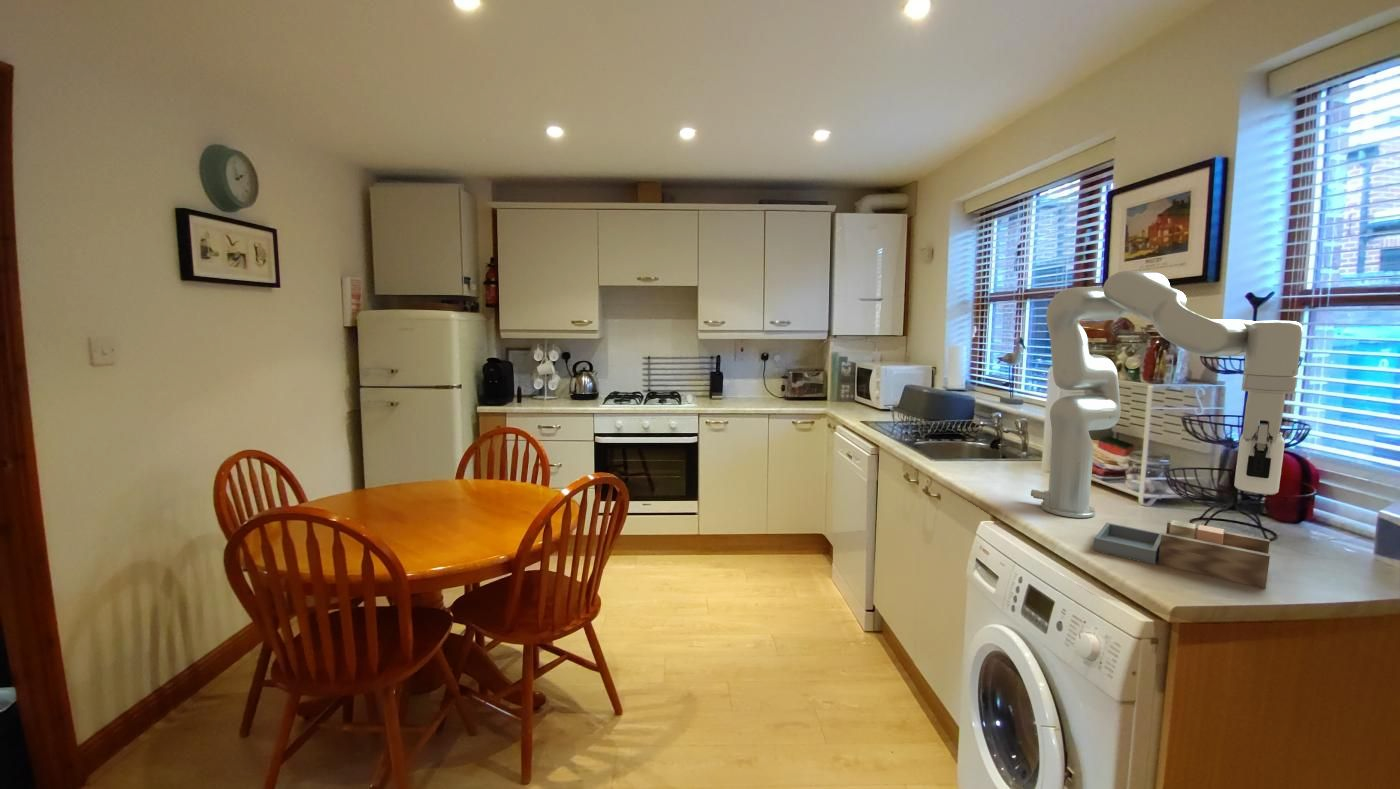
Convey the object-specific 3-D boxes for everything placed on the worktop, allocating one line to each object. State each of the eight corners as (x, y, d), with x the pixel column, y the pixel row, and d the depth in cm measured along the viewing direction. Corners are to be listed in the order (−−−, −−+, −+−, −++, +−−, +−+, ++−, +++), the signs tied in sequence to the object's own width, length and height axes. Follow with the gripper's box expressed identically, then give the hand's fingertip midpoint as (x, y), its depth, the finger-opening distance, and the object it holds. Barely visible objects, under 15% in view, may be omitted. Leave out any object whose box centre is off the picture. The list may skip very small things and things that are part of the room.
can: (1226, 488, 119) (1233, 430, 117) (1244, 484, 121) (1251, 427, 120) (1267, 496, 113) (1275, 435, 111) (1285, 493, 115) (1292, 433, 114)
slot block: (1158, 564, 124) (1161, 534, 123) (1165, 548, 133) (1168, 520, 132) (1265, 588, 113) (1269, 556, 112) (1265, 569, 121) (1269, 539, 121)
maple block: (1168, 542, 126) (1170, 524, 125) (1170, 537, 129) (1172, 519, 128) (1192, 547, 123) (1194, 528, 123) (1194, 542, 126) (1196, 524, 126)
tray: (1093, 550, 131) (1094, 537, 131) (1105, 534, 141) (1106, 522, 141) (1154, 564, 124) (1156, 551, 124) (1163, 546, 134) (1164, 534, 134)
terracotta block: (1195, 547, 123) (1197, 529, 122) (1197, 542, 126) (1199, 524, 125) (1220, 552, 120) (1223, 534, 120) (1222, 547, 123) (1224, 529, 122)
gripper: (1243, 379, 123) (1233, 462, 125) (1241, 386, 111) (1230, 478, 113) (1294, 382, 118) (1283, 469, 120) (1297, 389, 106) (1284, 485, 108)
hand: (1257, 472), depth 117 cm, fingers closed on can, 6 cm apart
